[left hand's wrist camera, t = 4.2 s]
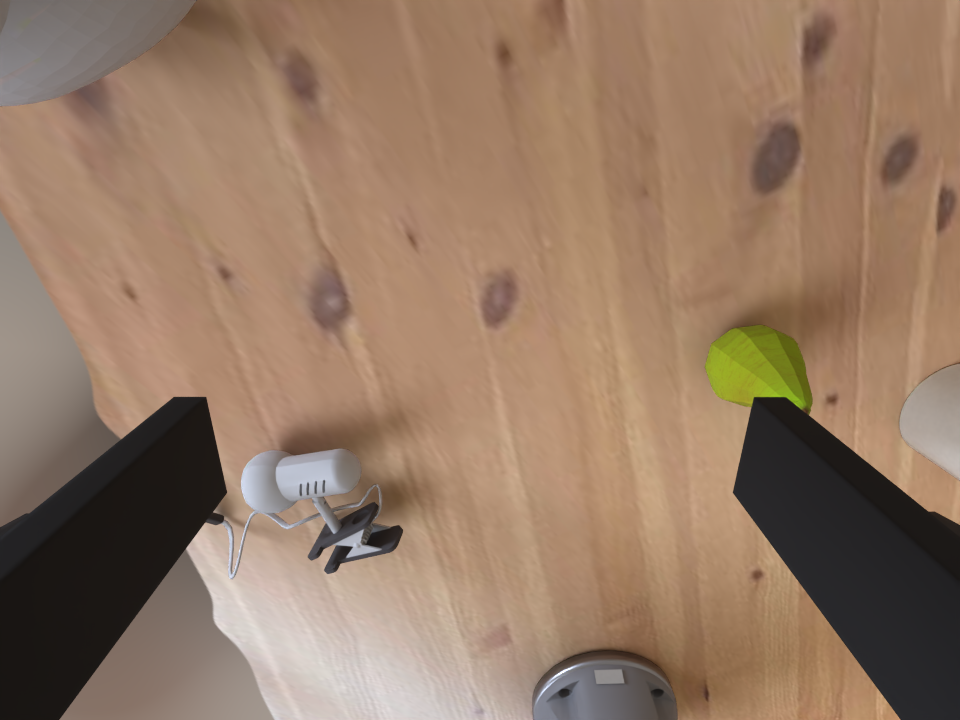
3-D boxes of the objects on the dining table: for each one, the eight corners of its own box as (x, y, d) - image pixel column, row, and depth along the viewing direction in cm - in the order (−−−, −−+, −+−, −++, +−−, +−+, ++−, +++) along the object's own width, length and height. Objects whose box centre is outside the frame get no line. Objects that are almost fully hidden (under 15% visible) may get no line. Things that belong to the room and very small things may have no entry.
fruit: (760, 299, 40) (868, 356, 29) (784, 364, 42) (894, 441, 31) (682, 338, 41) (756, 407, 30) (709, 399, 43) (789, 485, 32)
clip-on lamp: (256, 541, 52) (414, 524, 47) (218, 598, 47) (391, 586, 41) (189, 453, 47) (357, 421, 41) (138, 505, 42) (323, 478, 36)
